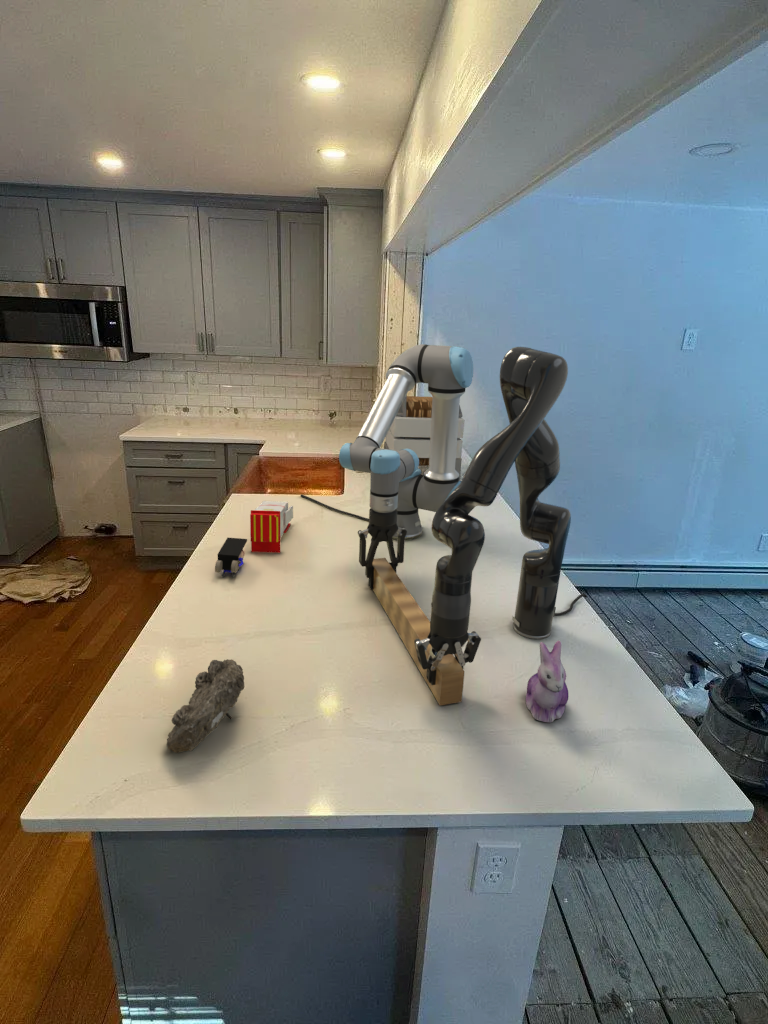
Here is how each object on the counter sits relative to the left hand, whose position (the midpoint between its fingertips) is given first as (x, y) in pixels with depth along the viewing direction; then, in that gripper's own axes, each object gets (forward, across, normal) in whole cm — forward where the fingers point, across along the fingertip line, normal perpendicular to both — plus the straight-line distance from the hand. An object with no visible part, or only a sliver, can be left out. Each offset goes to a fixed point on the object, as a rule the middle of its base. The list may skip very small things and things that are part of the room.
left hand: (380, 586), depth 159 cm
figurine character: (+1, -39, +21) cm, 45 cm away
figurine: (+1, +18, -56) cm, 59 cm away
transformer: (+2, +52, +112) cm, 124 cm away
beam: (+1, 0, -23) cm, 23 cm away
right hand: (-2, 0, -47) cm, 47 cm away
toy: (+1, -25, +44) cm, 51 cm away
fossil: (+1, -46, -43) cm, 63 cm away
